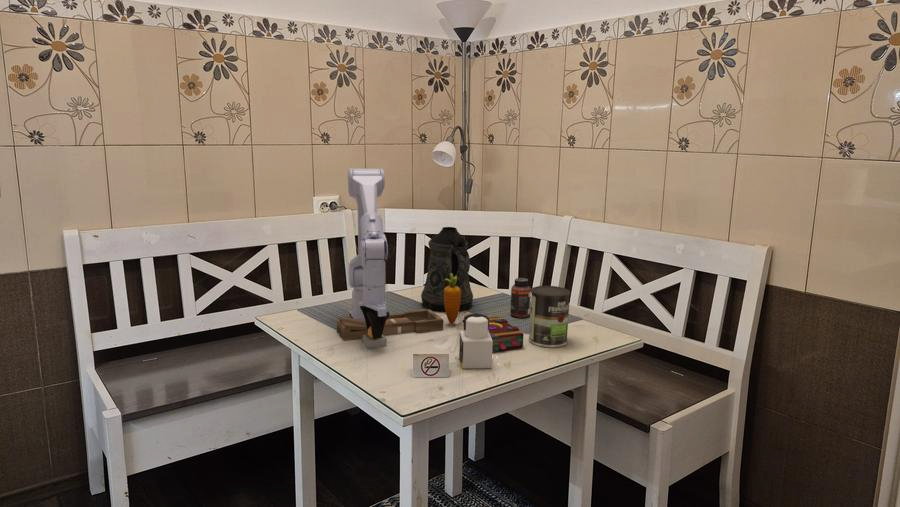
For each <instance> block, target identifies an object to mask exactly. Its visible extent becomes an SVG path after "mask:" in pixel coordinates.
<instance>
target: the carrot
mask: <svg viewBox="0 0 900 507" xmlns="http://www.w3.org/2000/svg"><path fill="white" fill-rule="evenodd" d="M450 277H451V280H452V281H451V280H449V279H447V278H446V279H445V280H446V281H448V283H449V284H450V286H448V287H446V288H444V306H445V311H446V313H445V315H446V317H447V320H448V323H449V324H450V325H451V326H453V325H454V324H455V322H456V320H457V318H458V317H459V314H460V312H459V309H460V302H461V289H460V288H459V287H458V286H455V284H456V281H457V276H455V277H453V274H452V273H450Z"/></svg>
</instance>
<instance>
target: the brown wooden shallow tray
mask: <svg viewBox="0 0 900 507" xmlns="http://www.w3.org/2000/svg"><path fill="white" fill-rule="evenodd" d="M443 330H444V319H443V318H442V317H440V316H439V315H438V314H437V313H436V312H435V311H432V310H430V309H420V310H419V309H418V310H411V311H410V310H409V311H404V312H402V313H396V314H393V313H392V314H389V317H388V319H387V320H386V323H385V325H384V329H383V335H384V336H385V337H386V336H393V334H394V335H400V334H409V333H410V334H411V333H415V334H423V333H429V332H430V333H431V332H438V331H443ZM336 333H337V334H338V333H339V334H338V335H339V337H340V338H341V339H342V341H351V340H359V339H363V335H366V334H368V331H367V327H366V322H365V319H355V318H353V317H342V316H339V317H338V319H336Z"/></svg>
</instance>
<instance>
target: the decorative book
mask: <svg viewBox="0 0 900 507" xmlns="http://www.w3.org/2000/svg"><path fill="white" fill-rule="evenodd" d="M488 318H489V333H490V336H491V338H492V340H493V346H492V355H493V353H494V354H495V353H496V352H500V351H506V350H514V349H520V348H524V332H522V331H521V330H520V328H518V326H516V325H512V324H510V323H509V322H508V319H505V318H502V317H500V316H495V317H494V316H493V317H492V316H491V317H488ZM461 323H463V324H464V319H462V320H461Z"/></svg>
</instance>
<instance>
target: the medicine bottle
mask: <svg viewBox="0 0 900 507" xmlns="http://www.w3.org/2000/svg"><path fill="white" fill-rule="evenodd" d="M489 318H490V317H488V316H487V315H485V314H483V313H476V312H475V313H469V314H467V315H464V317H463V320H464V323H463V330H460V331H459V348H458V350H459V355H458V358H459V361H460V365H461V369H463V370H465V369H466V370H467V369H492V367H493V354H492V346H493V340H492V338H491V336H490V333H489Z"/></svg>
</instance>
